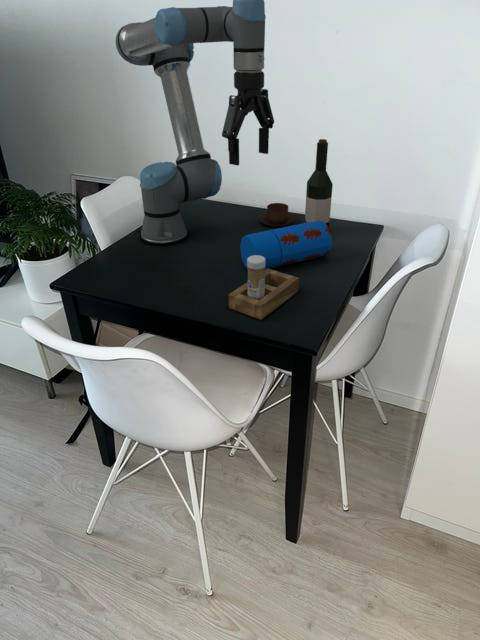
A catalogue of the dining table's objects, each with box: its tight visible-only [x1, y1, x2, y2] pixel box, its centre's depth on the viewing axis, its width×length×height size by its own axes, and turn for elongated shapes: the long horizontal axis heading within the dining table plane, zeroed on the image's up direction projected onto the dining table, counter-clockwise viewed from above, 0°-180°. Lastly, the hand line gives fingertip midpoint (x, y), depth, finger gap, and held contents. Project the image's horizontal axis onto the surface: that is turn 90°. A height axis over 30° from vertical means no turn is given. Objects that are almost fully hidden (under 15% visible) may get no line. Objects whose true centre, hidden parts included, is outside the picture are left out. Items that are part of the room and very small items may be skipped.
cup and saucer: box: [259, 202, 295, 228], centre depth 177 cm, size 12×12×6 cm
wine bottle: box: [304, 138, 334, 229], centre depth 164 cm, size 8×8×30 cm
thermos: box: [239, 221, 333, 271], centre depth 149 cm, size 11×11×25 cm
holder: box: [228, 268, 300, 321], centre depth 133 cm, size 10×18×4 cm, turn 144°
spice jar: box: [247, 255, 266, 300], centre depth 127 cm, size 5×5×13 cm
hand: (249, 158), depth 136 cm, fingers open, 13 cm apart
